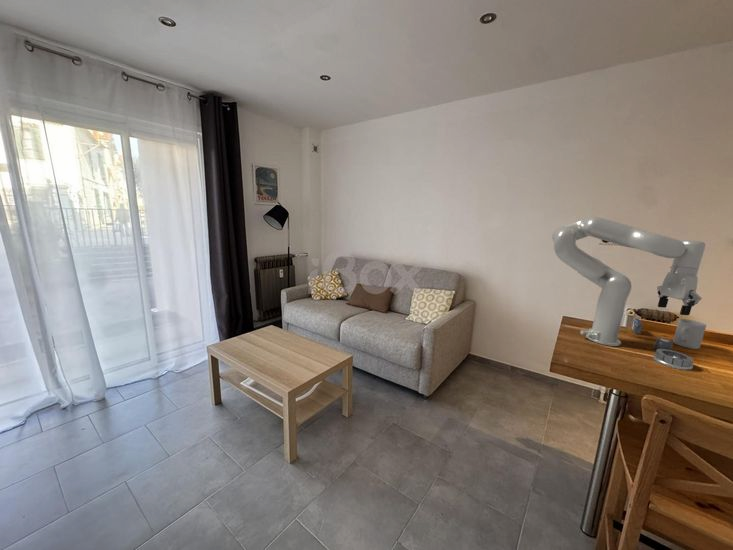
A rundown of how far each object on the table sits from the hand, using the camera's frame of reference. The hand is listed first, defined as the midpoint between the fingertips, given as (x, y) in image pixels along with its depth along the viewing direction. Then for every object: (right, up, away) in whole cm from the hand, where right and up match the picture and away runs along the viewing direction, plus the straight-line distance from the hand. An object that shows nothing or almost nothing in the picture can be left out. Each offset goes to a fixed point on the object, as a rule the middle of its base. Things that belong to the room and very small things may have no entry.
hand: (672, 310), depth 123 cm
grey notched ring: (-7, -20, -7) cm, 22 cm away
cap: (-1, -18, +4) cm, 18 cm away
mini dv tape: (+7, -14, +25) cm, 29 cm away
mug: (+16, -17, +11) cm, 26 cm away
